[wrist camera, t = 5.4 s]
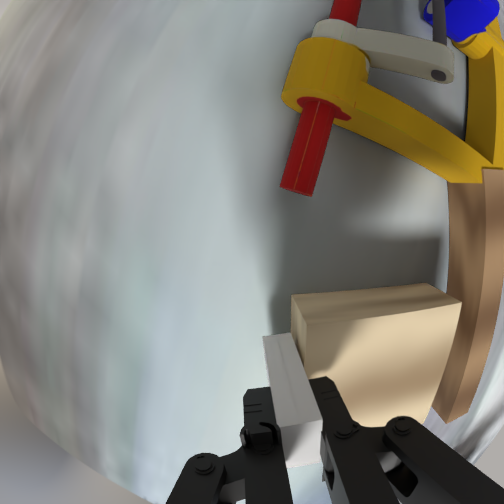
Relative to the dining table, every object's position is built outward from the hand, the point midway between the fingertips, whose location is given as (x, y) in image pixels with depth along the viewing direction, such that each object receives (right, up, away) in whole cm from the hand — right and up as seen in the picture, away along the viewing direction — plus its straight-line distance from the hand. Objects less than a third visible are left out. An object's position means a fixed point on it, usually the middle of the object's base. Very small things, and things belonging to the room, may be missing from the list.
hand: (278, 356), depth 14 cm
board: (+13, +2, +2) cm, 13 cm away
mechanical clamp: (+12, +21, -2) cm, 24 cm away
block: (+5, -1, +2) cm, 6 cm away
